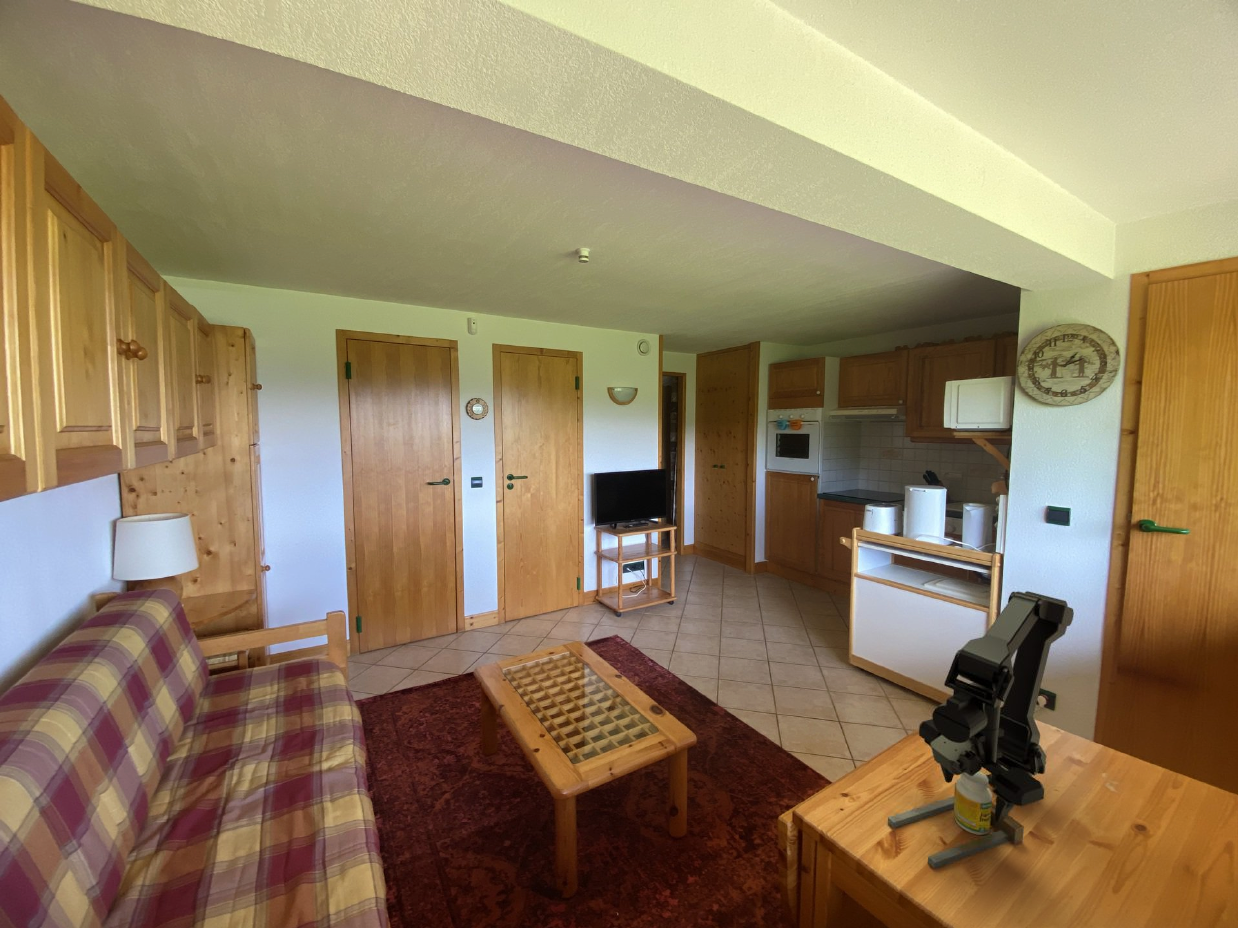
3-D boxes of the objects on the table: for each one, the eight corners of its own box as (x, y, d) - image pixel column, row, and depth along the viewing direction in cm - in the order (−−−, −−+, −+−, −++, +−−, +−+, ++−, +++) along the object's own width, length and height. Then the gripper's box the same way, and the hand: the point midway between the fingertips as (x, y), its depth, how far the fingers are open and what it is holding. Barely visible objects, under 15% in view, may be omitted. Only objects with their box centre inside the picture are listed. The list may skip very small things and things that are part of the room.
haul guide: (961, 794, 95) (962, 780, 95) (1022, 841, 85) (1023, 826, 85) (884, 819, 90) (884, 804, 90) (938, 873, 80) (939, 856, 79)
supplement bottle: (961, 806, 93) (964, 760, 91) (994, 826, 88) (998, 778, 87) (947, 820, 90) (951, 772, 89) (982, 841, 85) (986, 791, 84)
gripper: (898, 698, 93) (894, 773, 95) (999, 766, 75) (992, 857, 77) (943, 688, 96) (938, 761, 98) (1050, 750, 78) (1042, 838, 80)
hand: (972, 800), depth 88 cm, fingers open, 9 cm apart
